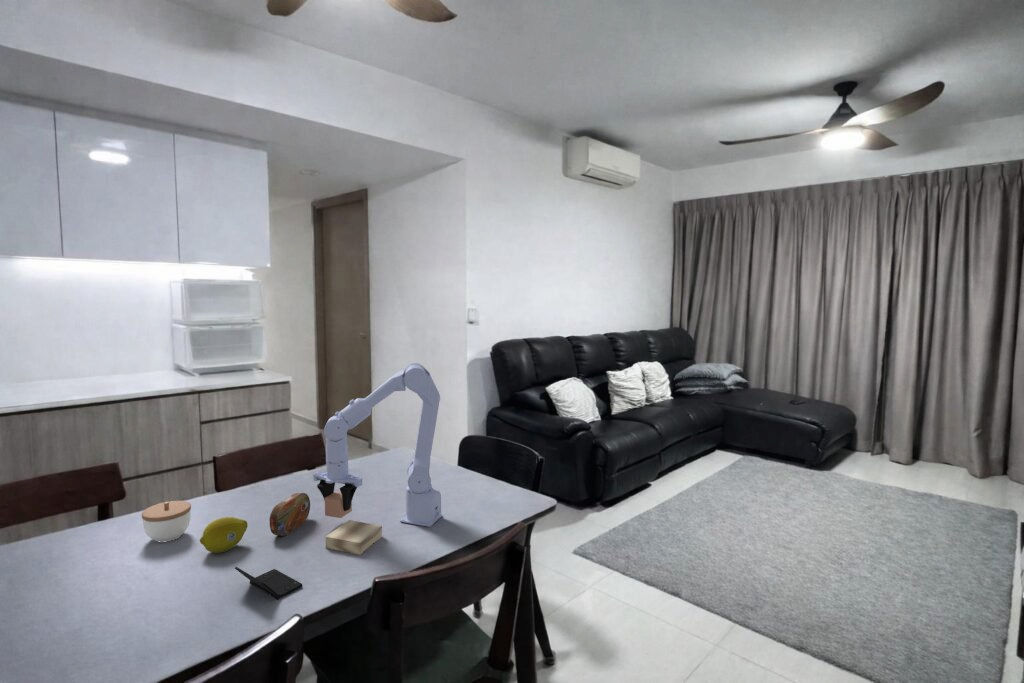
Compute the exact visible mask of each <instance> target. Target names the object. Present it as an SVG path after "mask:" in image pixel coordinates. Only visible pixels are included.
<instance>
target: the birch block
mask: <svg viewBox="0 0 1024 683" xmlns="http://www.w3.org/2000/svg"><path fill="white" fill-rule="evenodd" d="M382 537H383V526H382V525H381V524H380V525H379V524H374V523H368V522H361V521H357V520H351V519H348V521H346V522H344V523H343V524H341V525H340V526H339V527H337V528H336V529H334V530H333V531H331V532H330V533H329V534H327V535H325V549H329V548H331V549H330V550H334V549H335V550H334V551H339V550H340V551H339V552H344V551H345V553H349V552H350V553H349V554H353V555H359V556H360V555H361V554H363V553H364V552H366V550H367V549H369V548H370V547H371V546H373V545H374V544H375V543H376V542H377V541H378V540H380V539H381V538H382ZM373 543H374V544H373ZM363 551H364V552H363Z"/></svg>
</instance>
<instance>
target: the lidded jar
mask: <svg viewBox="0 0 1024 683" xmlns="http://www.w3.org/2000/svg"><path fill="white" fill-rule="evenodd" d="M191 509H192V505H191V502H189V501H185V500H171V501H163V502H159V503H157V504H154V505H151V506H149V507H146V508H145V509H144V510H143V511H142V512H141V519H142V525H143V529H144V531H145V532H144V533H145V534H146V536H148V537H149V539H151V540H153V541H154V540H155V541H160V542H164V541H170V540H173V541H175V540H174V539H176V540H178V539H179V537H180V536H181V535H182V536H183V534H184V533H185V532H186V531H187V529H188V528H189V526H190V523H191V517H192V516H191V515H192V514H191V513H192V512H191V511H192V510H191ZM182 536H181V537H182ZM181 537H180V538H181ZM177 538H178V539H177ZM155 541H154V542H155ZM170 542H171V541H170Z"/></svg>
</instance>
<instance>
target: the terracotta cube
mask: <svg viewBox="0 0 1024 683" xmlns="http://www.w3.org/2000/svg"><path fill="white" fill-rule="evenodd" d="M352 503H353V502H351V507H350V509H349V510H347V511H344V509H343V498H342V494H341V491H337V490H336V491H334V493H332V494H331V495H329V496H327V497H325V501H324V516H325V517H331V518H338V519H342V518H344V517H345V516H346V515H348V514H349V513H351V512H352V511H353V507H352V506H353V505H352Z"/></svg>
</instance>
